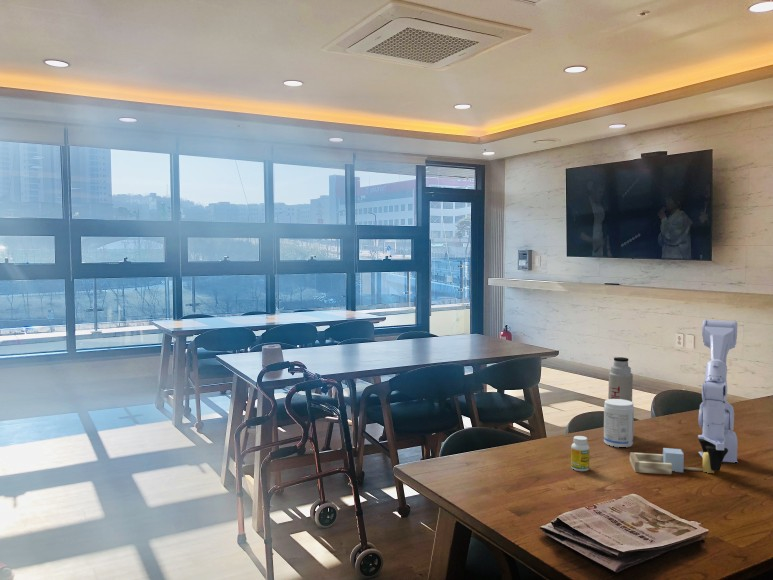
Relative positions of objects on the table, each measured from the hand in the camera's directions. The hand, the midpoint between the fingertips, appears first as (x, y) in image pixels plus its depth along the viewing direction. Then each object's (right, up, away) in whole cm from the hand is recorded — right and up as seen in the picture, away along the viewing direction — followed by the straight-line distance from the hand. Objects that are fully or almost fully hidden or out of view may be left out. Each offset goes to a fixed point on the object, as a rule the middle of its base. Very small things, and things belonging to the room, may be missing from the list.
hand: (712, 466), depth 188 cm
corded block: (-6, -2, +2) cm, 7 cm away
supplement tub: (-18, 0, +27) cm, 33 cm away
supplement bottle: (-39, -2, +3) cm, 39 cm away
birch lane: (-16, -1, +4) cm, 17 cm away
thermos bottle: (-14, 0, +38) cm, 40 cm away
